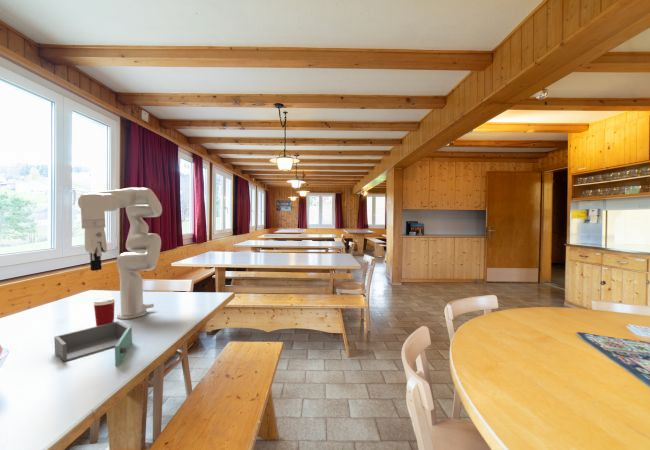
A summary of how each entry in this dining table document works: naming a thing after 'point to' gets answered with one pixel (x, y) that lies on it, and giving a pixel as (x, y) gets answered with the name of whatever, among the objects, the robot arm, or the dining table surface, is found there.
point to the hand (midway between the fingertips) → (96, 269)
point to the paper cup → (104, 311)
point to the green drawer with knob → (123, 345)
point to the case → (88, 341)
